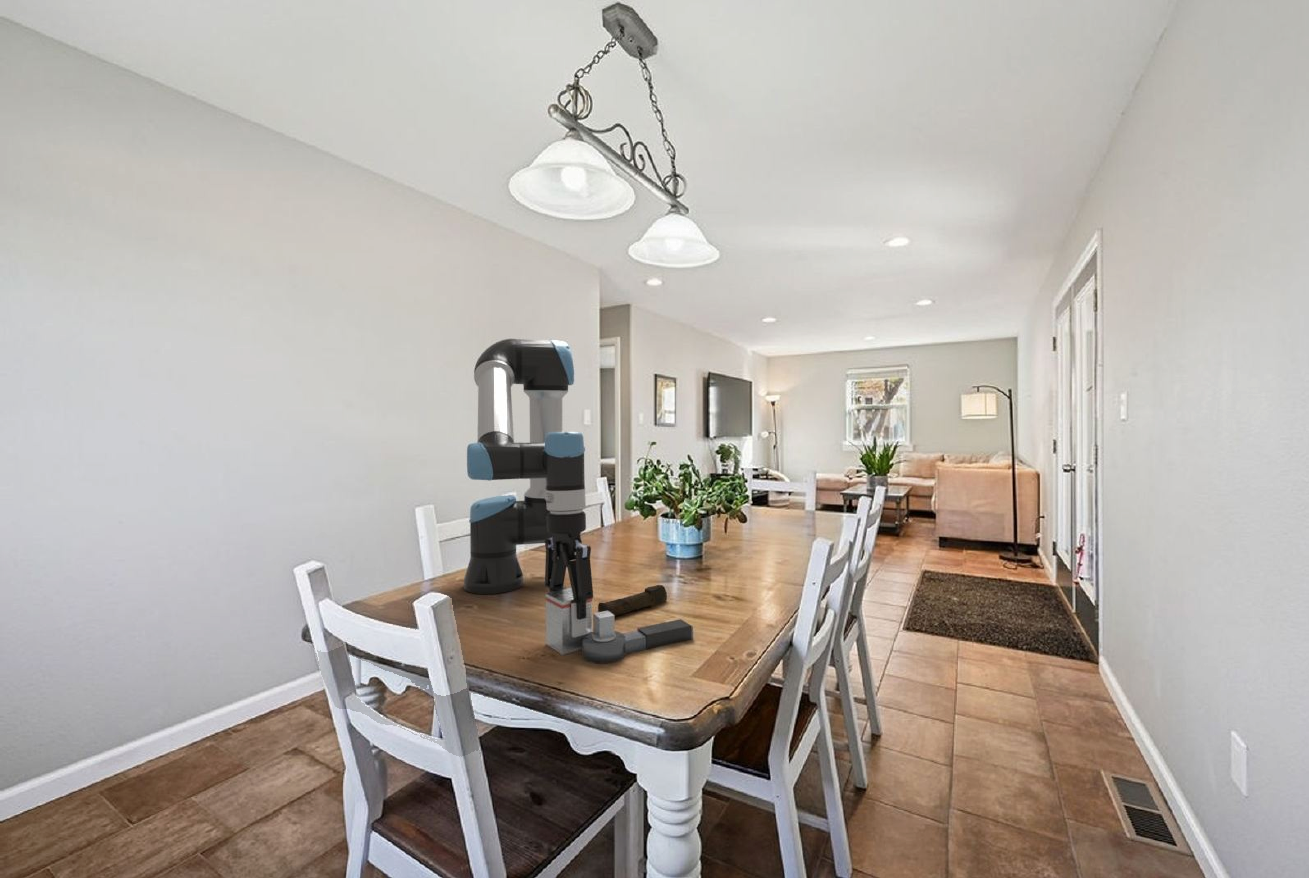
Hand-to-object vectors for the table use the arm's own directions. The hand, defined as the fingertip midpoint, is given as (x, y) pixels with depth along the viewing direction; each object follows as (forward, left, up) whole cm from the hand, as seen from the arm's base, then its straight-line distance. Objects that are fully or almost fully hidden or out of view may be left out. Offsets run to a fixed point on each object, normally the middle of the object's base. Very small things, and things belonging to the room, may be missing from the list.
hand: (568, 629), depth 107 cm
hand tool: (-9, +22, -4) cm, 24 cm away
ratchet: (+9, +10, -3) cm, 14 cm away
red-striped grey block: (0, 0, -3) cm, 3 cm away
